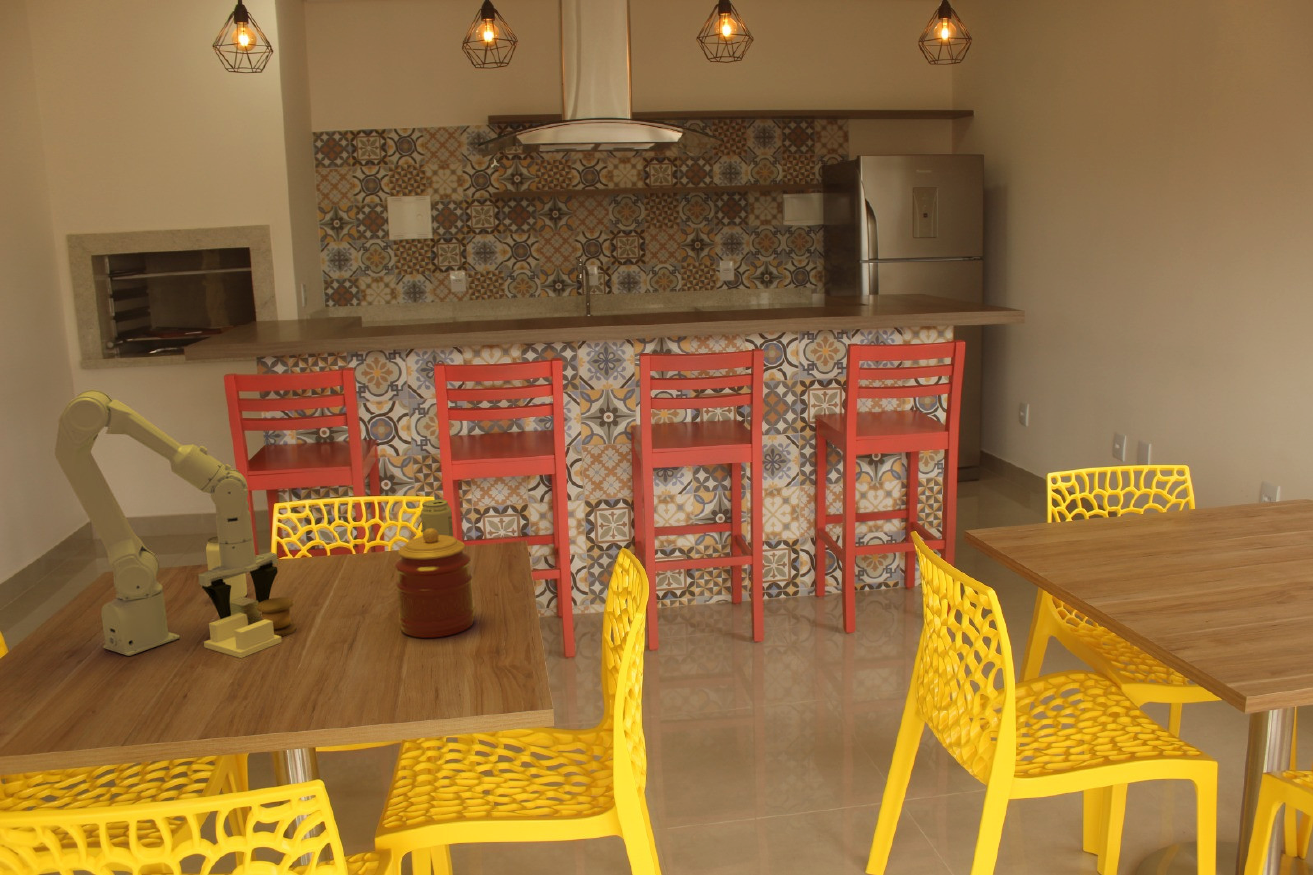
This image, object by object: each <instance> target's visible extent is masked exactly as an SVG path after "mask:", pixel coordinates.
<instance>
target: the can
mask: <svg viewBox="0 0 1313 875" xmlns="http://www.w3.org/2000/svg"><path fill="white" fill-rule="evenodd" d="M205 552H206V553H205V554H206V562H207V569H208V570H207V571H209V570H211V569H213V568H215V567H217V566H219V565H221V560H220V552H219V544H218V535H215V536H212V537H209V538H208V539H207V544H206V547H205ZM223 582H225V584H227V585H231V591H230V601H231V600H234V599H237V598H240V597H245V598H246V596H247V594H248V586H247V577H246V573H243V574H240V575H237V576H234V577H231V578H228V579H225V580H223Z"/></svg>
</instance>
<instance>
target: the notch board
mask: <svg viewBox="0 0 1313 875" xmlns="http://www.w3.org/2000/svg"><path fill="white" fill-rule="evenodd" d="M208 626H209V637H210V639H208V640H205V641H203V645H204V648H205V649H209V650H212V651H216V652H219V653H222V654H225V655H228V656H229V655H230V656H232V657H236V658H239V659H242V658H245V657H247V656H250V655H252V654H255V653H258V652H260V651H262V650H265V649H268V648H270V647H272V646H275V645H278V644H281V643H282V637H281V636H277V635H274V630H273V621H270V620H266V619H264V620H262V619H261V620H260V621H259V622H256V623H254V624H251V625H248V620H247V614H243V613H237V614H235V615H232V616H229V617H226V618H223V619H220V618H219V619H217V620H216V621H213V622H209V623H208Z"/></svg>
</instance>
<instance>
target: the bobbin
mask: <svg viewBox="0 0 1313 875" xmlns="http://www.w3.org/2000/svg"><path fill="white" fill-rule="evenodd" d="M293 606H294V600H293V599H292V598H289V597H273V598H269V599H268V600H264V601H262V602H260V603H258V604H257V610H258V611H259V613H261V617H262V618H261V621H262V620H264V619H266V620H270V621H273V630H274V635H277V636H281V638H282V637H284V636H288V635H291V634H293V633H294V632H296V630H297V626H296V623H295V622H293V621H292V620H291V611H290V608H292V607H293Z"/></svg>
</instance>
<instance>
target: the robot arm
mask: <svg viewBox="0 0 1313 875" xmlns="http://www.w3.org/2000/svg"><path fill="white" fill-rule="evenodd" d="M104 427H106V428H107V429H106V432H105V434H106V435H126V436H129V437H130V438H132V439H133V440H135V441H136V442H139V443H140V444H141V445H144V446H145V447H147V448H149V449H150V450H152V451H153V452H155V453H156V454H158V455H159V456H161V457H163V458H164V459H166V460H168V461H169V464H170V468H171V470H170V471H171V472H173V473H174V474H175V475H177V476H178V477H180V478H182V479H183V480H184V481H186V482H187V483H188V484H190V485H192V486H194V487H195V488H196V489H198V490H200V491H201V492H202V493H208V494H209V495H210V498H211V501H212V502H213V504H214V505H215V513H216V515H215V517H214V518H215V524H216V525H215V526H216V533H217V534H216V536H218V544H219V552H220V560H221V565H219V566H217V567H215V568H213V569H211V570H209V571H208V570H207V571H205V572H202V573H199V574H198V583H199V586H201V588H202V589H203V590H204V592H205V593H206V594H207V595H208V596H209V599H210V600H211V602H212V603H213V605H214V607H215V609H216V611H217V614H218V616H219V620H220V619H223V618H226V617H229V616H231V610H230V591H231V585H227V584H225V582H223V580H225V579H228V578H231V577H234V576H237V575H240V574H243V573H245V574H247V573H250V576H251V579H252V582H253V587H254V594H255V600H258V603H260V602H262V601H264V600H268V599H270V595H271V591H272V586H273V583H274V581H275V578H276V576H277V574H278V572H279V571H278V567H277V566H274V565H278V563H279V562H278V560H279V559H278V553H277V552H276V553H275V552H266V553H263V554H258V555H257V554H256V551H255V543H254V542H255V541H254V534H253V525H252V515H251V511H250V510H249V508H250V505H249V502H248V495H249V490H248V482H247V478H245V476H244V475H243V474H242V473H241V472H240V471H239V470H238V469H236V468H232V465H230V464H228V463H226V464H223V463H222V462H221V461H219V460H218V459H216V458H215V457H213V456H212V455H210V454H209V453H207V452H208V448H207V447H205V446H203V445H200V446H199V447H198V446H197V445H195V444H185V445H184V444H183V445H182V444H181V443H179V442H178V441H176V439H174V438H172V437H171V436H170V435H168V434H166V433H165V432H164V431H163V430H161V429H160V428H158V427H157V426H156V425H154V424H153V423H152V422H150V421H149V420H148V419H147V418H145V417H143V416H142V415H141V414H139V413H138V412H137V411H136V410H134V409H132V408H131V407H129V406H128V405H126V404H125V403H123V402H121V401H120V400H118V399H116V398H114V399H112V398H111V397H110V395H108V393H106V392H104V391H101V390H98V389H88V390H85V391H83V392H80V393H79V394H78V395H77V396H76V397H75V398H73V399H71V400H70V401H69V402H67V404H66V405H65V407H64V409H63V411H62V412H61V414H60V416H59V417H58V428H57V434H56V440H55V441H56V443H55V448H54V456H55V458H56V461H57V463H58V464H59V466H60V469H61V470H62V472H63V473H64V475H65V477H66V478H67V480H68V483H69V484H70V486H71V488H72V489H73V492H74V493H75V495H76V497H77V499H78V500H79V502H80V504H81V506H82V508H83V509H84V512H85V513H86V515H87V517H88V519H89V521H90V522H91V524H92V526H93V528H94V529H95V530H94V531H95V532H96V533H97V535H98V537H99V538H100V540H101V543H102V544H103V546H104V548H105V550H106V554H107V560H108V564H109V565H110V567H111V569H112V572H113V586H114V588H115V590H116V593H115V595H116V597H115V598H114V599H112V600H111V601H109V602H106V603H104V605H103V606H102V607H101V613H100V614H101V616H100V617H101V622H102V628H103V636H104V645H102V646H103V649H105V650H109V651H112V652H115V653H118V654H120V655H121V654H122V655H123V656H124V655H125V656H127V657H129V656H134V655H135V654H139V653H141V652H144V651H146V650H147V651H148V650H150V649H153V648H155V647H159V646H161V645H165V644H166V643H170V642H172V641H175V640H178V639H180V638H181V637H180V635H179V634H176V633H172V632H170V631H169V629H168V628H169V626H168V620H167V619H168V618H167V613H166V612H167V610H166V604H165V596H164V590H163V588H164V587H163V585H162V584H161V583H159V582H158V580H157V579H156V578H157V575H158V573H159V571H160V568H161V566H160V561H159V560H160V559H159V558H158V556H157V555H156V554H155V553H154V552H152V551H151V550H149V549H148V548H147V547H146V545H145V544H144V542H143V540H142V539H141V538H140V537H138V535H136V533H135V532H134V530H133V529H132V526H131V525H130V523H129V521H128V519H127V517H126V515H125V514H124V512H123V509H122V508H121V506H120V504H119V502H118V501H117V498H116V496H115V495H114V493H113V490H112V489H111V487H110V486H109V483H108V482H107V480H106V478H105V476H104V474H103V473H102V471H101V469H100V467H99V465H98V463H97V462H96V460H95V457H94V456H93V454H92V449H93V447H94V445H95V443H96V441H97V439H98V437H99V433H100V432H101V431H102V430H103V429H104Z"/></svg>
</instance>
